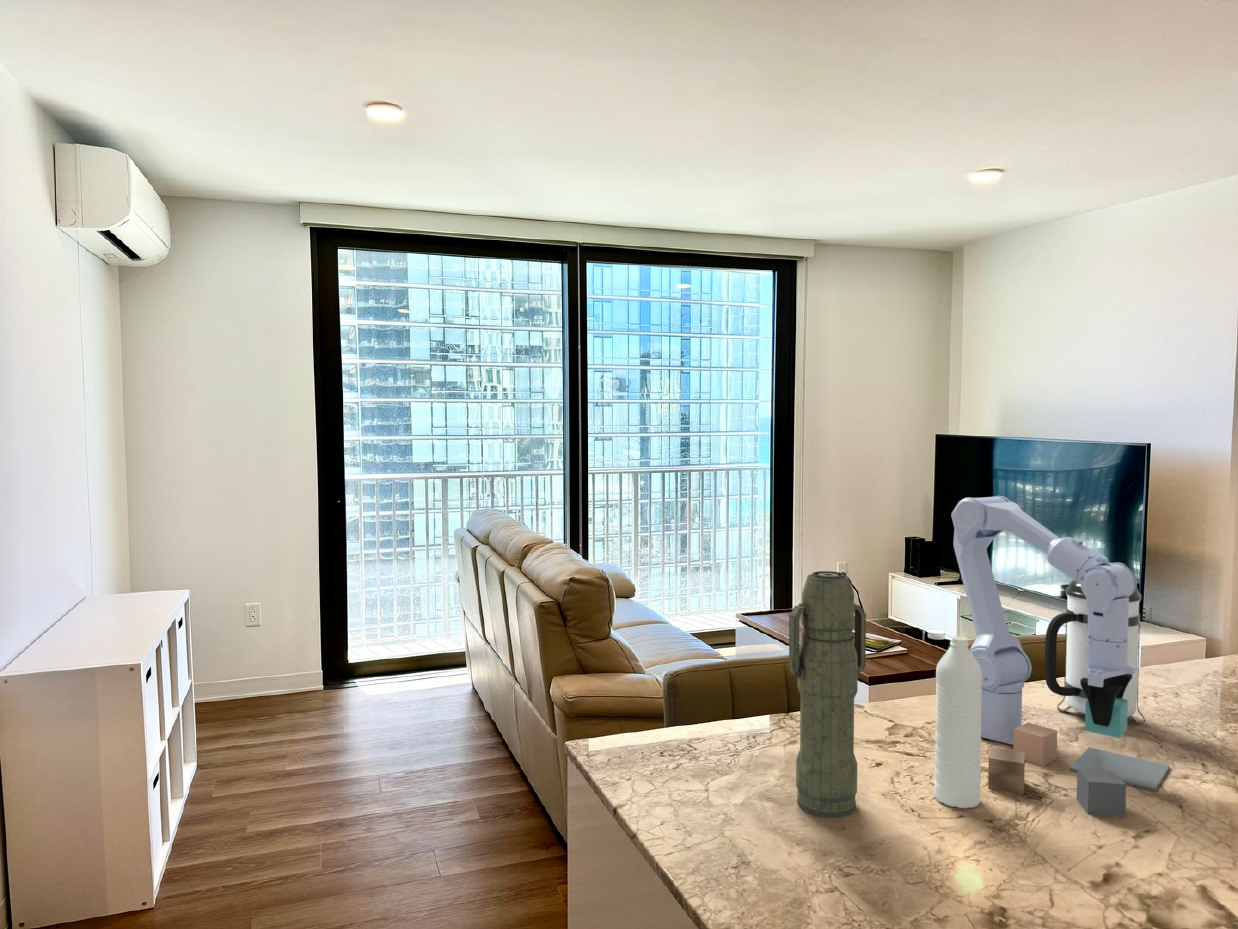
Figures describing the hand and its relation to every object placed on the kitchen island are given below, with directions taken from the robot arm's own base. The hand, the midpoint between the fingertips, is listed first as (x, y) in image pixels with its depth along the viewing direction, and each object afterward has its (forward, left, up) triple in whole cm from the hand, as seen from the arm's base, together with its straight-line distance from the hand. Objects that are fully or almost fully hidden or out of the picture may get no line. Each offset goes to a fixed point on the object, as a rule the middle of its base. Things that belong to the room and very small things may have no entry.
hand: (1105, 720), depth 136 cm
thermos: (-28, -41, -9) cm, 50 cm away
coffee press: (-7, +28, -9) cm, 31 cm away
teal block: (0, 0, -2) cm, 2 cm away
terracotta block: (-10, -1, -9) cm, 14 cm away
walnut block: (-10, -16, -9) cm, 21 cm away
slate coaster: (+2, +3, -9) cm, 10 cm away
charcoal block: (+3, -15, -9) cm, 17 cm away
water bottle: (-15, -26, -9) cm, 31 cm away
